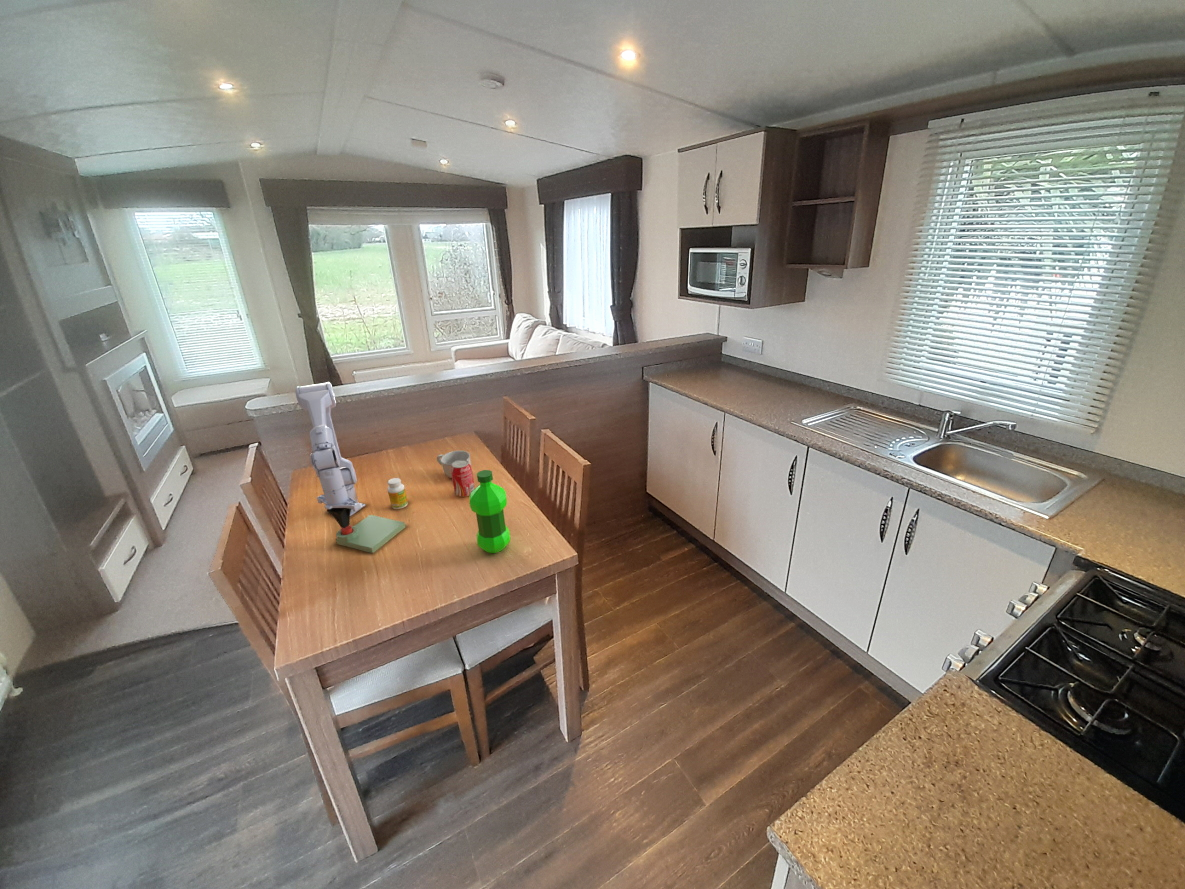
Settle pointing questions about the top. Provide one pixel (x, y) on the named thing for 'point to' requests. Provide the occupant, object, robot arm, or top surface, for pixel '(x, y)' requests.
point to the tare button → (346, 530)
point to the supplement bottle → (397, 494)
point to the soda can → (462, 478)
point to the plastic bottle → (489, 513)
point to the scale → (370, 533)
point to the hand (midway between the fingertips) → (345, 526)
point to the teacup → (452, 460)
